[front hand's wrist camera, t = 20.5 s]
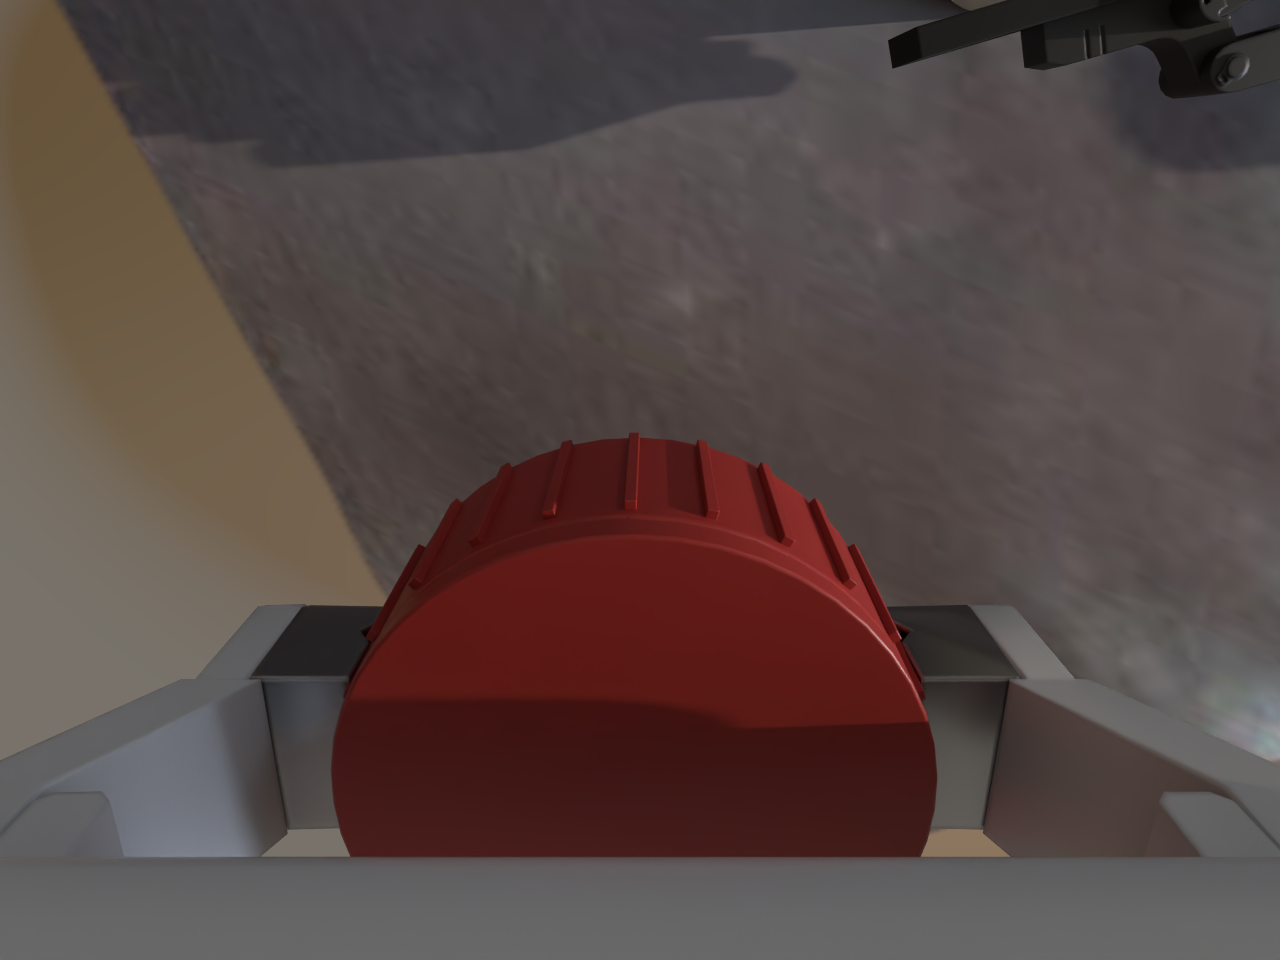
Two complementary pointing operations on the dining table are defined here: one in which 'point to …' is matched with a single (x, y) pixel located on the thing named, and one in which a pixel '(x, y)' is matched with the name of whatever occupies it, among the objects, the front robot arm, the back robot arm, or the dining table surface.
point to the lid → (634, 675)
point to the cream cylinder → (975, 3)
